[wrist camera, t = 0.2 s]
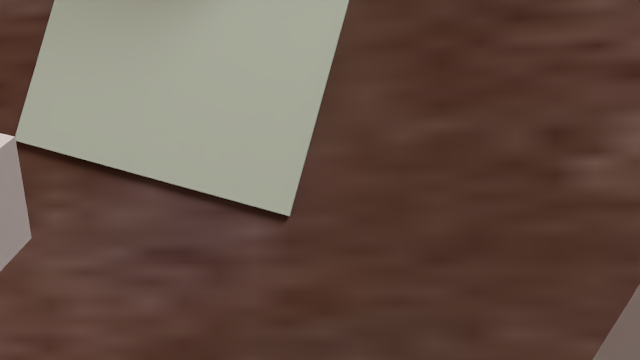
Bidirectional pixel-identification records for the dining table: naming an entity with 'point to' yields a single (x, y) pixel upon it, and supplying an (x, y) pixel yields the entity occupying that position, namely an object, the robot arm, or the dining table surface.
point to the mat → (186, 90)
